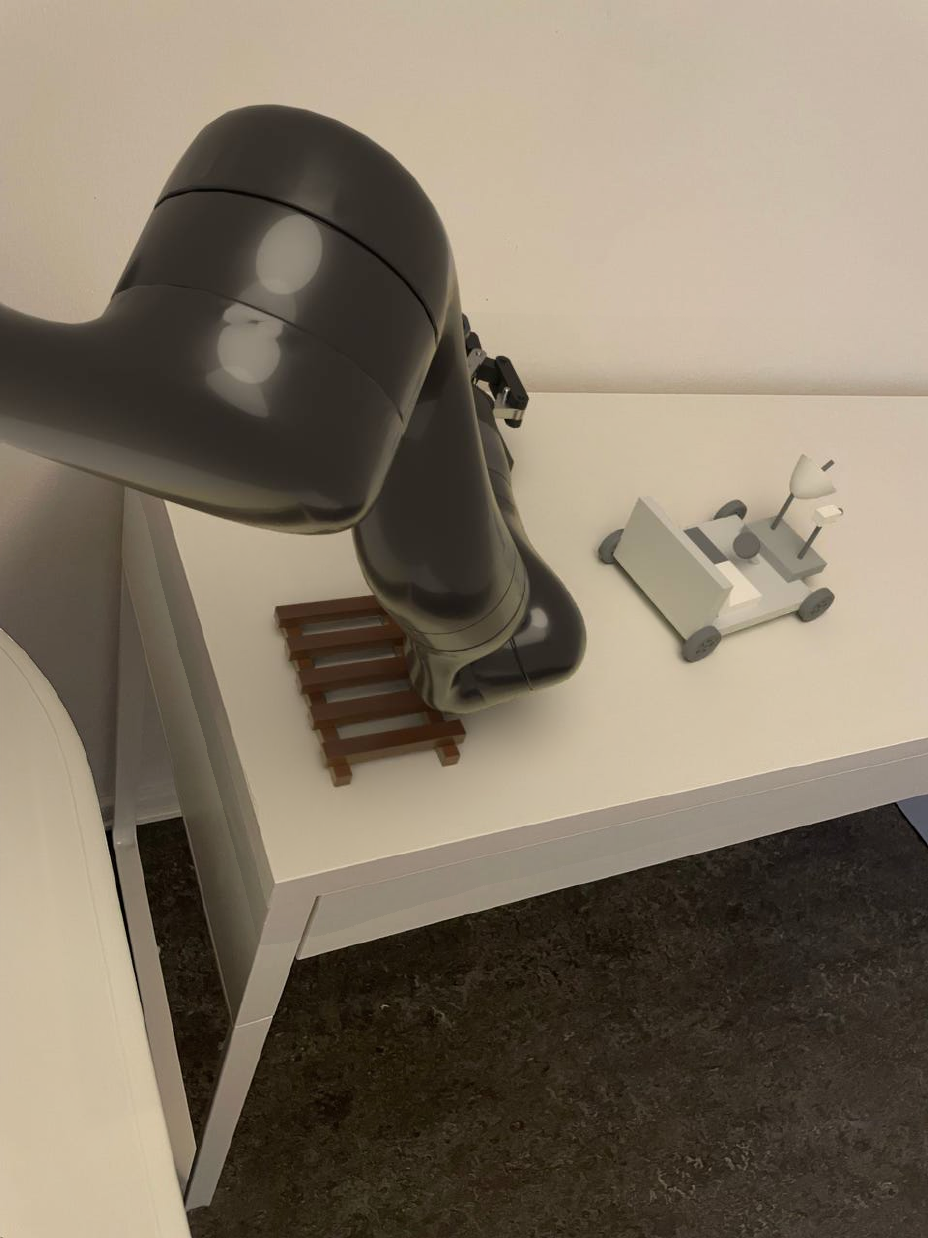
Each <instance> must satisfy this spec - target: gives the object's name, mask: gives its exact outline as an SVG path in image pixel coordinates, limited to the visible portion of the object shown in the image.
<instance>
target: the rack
mask: <svg viewBox="0 0 928 1238" xmlns="http://www.w3.org/2000/svg"><path fill="white" fill-rule="evenodd" d="M273 617H274V620H275V623H276V626H277V628H278V629H279V630H281V632H282V636H283V639H284V647H283V648H284V651H285V654H286V656H287V659H288V662H292V666H293V668H294V672H295V674H296V677H295V683H296V686H297V690H298V692H299V695H300V696H302V695H303V697H304V701H305V704H306V706H307V710H308V711H307V719H308V722H309V724H310V727H311V730H312V731H315V733H316V736H317V739H318V742H319V745H320V748H319V754H320V758H321V761H322V764H323V767H324V768H325V769H328V771H329V774H330V775H329V776H330V778H331V781H332V783H333V787H335V788H337V787H342V786H348V785H351V783H352V779H353V773H352V770H351V768H350V767H351V766H350V764H355V763H360V762H367V761H372V760H377V759H384V758H388V757H394V756H399V755H405V754H410V753H415V752H421V751H426V750H431V749H435V752H436V755H437V757H438V759H439V761H440V763H441V766H442V767H448V766H453V765H457V764H458V762H459V760H460V757H461V752H460V751H459V749H458V746H457V745H459V744H464V742H465V740H466V736H467V732H466V729H465V727H464V725H463V722H462V720H461V719H460V718H457V719H451V720H446V718H445V716H444V713H441V712H439V711H436V710H434V709H432V708H431V707H430V706H428V705H427V704H426V703H425V702H424V701H423V700H422V698H421V697H420V696H419V694H418V693H417V691H416V689H415V687H414V685H413V683H412V680H411V678H410V675H409V672H408V668H407V664H406V658H405V653H404V644H403V630H402V629H401V628H400V627H399V625H398V624H397V623H396V622H395V621H394V620H393V619H392V617H391V616H390V615H389V614H388V613H387V612H386V611H385V610H384V608H383V607H382V606H381V605H380V604H379V602H378V601H377V599H376V598H375V596H374V595H373V594H368V595H360V596H353V597H343V598H334V599H326V600H317V601H309V602H300V603H291V604H282V605H275V606H274V614H273ZM375 617H379V618H380V620H381V623H382V625H381V624H379V625H373V626H366V627H365V626H363V627H357V628H349V629H342V630H333V631H326V632H318V633H309V634H303V631H302V628H301V627H303V626H311V625H319V624H327V623H328V624H329V623H334V622H335V623H336V622H343V621H350V620H351V621H352V620H359V619H360V620H361V619H367V618H375ZM386 648H387V649H388V648H392V649H393V652H394V654H395V656H393V657H385V658H379V659H378V658H377V659H371V660H364V661H357V662H351V663H343V664H336V665H329V666H323V667H315V665H314V662H313V660H312V659H315V658H323V657H329V656H337V655H343V654H344V655H345V654H350V653H351V654H352V653H359V652H365V651H373V650H379V649H380V650H381V649H386ZM402 680H406V682H407V685H408V687H409V690H403V691H395V692H388V693H383V694H377V695H371V696H364V697H357V698H352V699H345V700H339V701H333V702H327V700H326V695H325V693H324V692H328V691H336V690H341V689H349V688H355V687H362V686H368V685H375V684H380V683H388V682H394V681H402ZM419 713H420V716H421V718H422V720H423V723H424V724H423V725H416V726H411V727H405V728H399V729H393V730H387V731H382V732H376V733H375V732H374V733H370V734H365V735H364V734H363V735H359V736H358V735H357V736H351V737H346V738H342V739H341V738H340V736H339V732H338V730H337V728H336V727H341V726H342V727H343V726H347V725H353V724H360V723H366V722H371V721H377V720H383V719H389V718H395V717H401V716H402V717H403V716H408V715H413V714H419Z"/></svg>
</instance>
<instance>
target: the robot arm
mask: <svg viewBox="0 0 928 1238" xmlns="http://www.w3.org/2000/svg"><path fill="white" fill-rule="evenodd" d="M141 231H142V232H141V233H140V235H139V238H138V240H137V242H136V243H135V246H134V248H133V251H132V252H131V254H130V257H129V259H128V261H127V262H126V264H125V267H124V268H123V271H122V273H121V275H120V277H119V280H118V281H117V284H116V286H115V287H114V289H113V292H112V294H111V297H110V300H109V302H108V304H107V305H106V307H105V309H104V310H103V313H102V314H101V315H100V316H98V317H97V318H94V319H92V320H88V321H84V322H74V323H70V322H63V321H56V320H49V319H46V318H41V317H39V316H35V315H33V314H32V315H31V314H29V313H24V312H23V311H20V310H18V309H15V308H13V307H10V306H8V305H6V304H4V302H2V301H0V444H3V445H6V446H9V447H12V448H15V449H18V450H20V451H23V452H26V453H29V454H32V455H35V456H37V457H41V458H43V459H46V460H49V461H51V462H55V463H58V464H61V465H64V466H66V467H70V468H72V469H75V470H77V471H81V472H83V473H86V474H89V475H92V476H94V477H97V478H101V479H103V480H106V481H109V482H112V483H115V484H118V485H120V486H123V487H126V488H129V489H131V490H135V491H138V492H140V493H143V494H147V495H149V496H153V497H155V498H157V499H160V500H164V501H165V502H170V503H172V504H176V505H179V506H181V507H185V508H188V509H191V510H194V511H197V512H200V513H204V514H207V515H208V516H213V517H216V518H218V519H221V520H226V521H230V522H232V523H236V524H240V525H244V526H247V527H252V528H257V529H261V530H266V531H271V532H277V533H280V534H289V535H290V534H291V535H297V536H298V535H300V536H308V537H309V536H327V535H329V536H330V535H334V534H339V533H342V532H345V531H347V530H350V532H351V538H352V544H353V548H354V552H355V556H356V559H357V563H358V565H359V568H360V571H361V574H362V576H363V578H364V581H365V583H366V585H367V587H368V588H369V590H370V592H371V593H372V595H374V596H375V598H376V599H377V601H378V602H379V604H380V605H381V606H382V607H383V608H384V610H385V611H386V612H387V613H388V614H389V615H390V616H391V617H392V619H393V620H394V621H395V622H396V623H397V624H398V625H399V627H400V628H401V629H402V630H403V644H404V653H405V658H406V664H407V668H408V672H409V675H410V678H411V680H412V683H413V685H414V687H415V689H416V691H417V693H418V694H419V696H420V697H421V698H422V700H423V701H424V702H425V703H426V704H427V705H428V706H430V707H431V708H432V709H434V710H436V711H439V712H441V713H442V714H445V715H453V716H454V715H455V716H456V715H466V714H471V713H475V712H477V711H481V710H484V709H487V708H490V707H493V706H496V705H500V704H502V703H505V702H508V701H512V700H514V699H518V698H520V697H523V696H524V697H525V696H526V695H531V694H533V692H535V693H537V692H539V691H542V690H543V691H544V690H545V689H549V688H553V687H555V686H557V685H561V684H562V683H565V682H566V681H568V680H570V679H571V678H572V677H573V676H574V675H576V673H577V671H579V669H580V667H581V666H582V664H583V662H584V658H585V655H586V652H587V646H588V645H587V643H588V635H587V627H586V623H585V620H584V617H583V615H582V612H581V610H580V608H579V605H578V604H577V601H576V600H575V598H574V597H573V595H572V594H571V592H570V591H569V590H568V588H567V586H566V585H565V584H564V583H563V581H562V580H561V579H560V578H559V576H558V575H557V574H556V572H555V571H554V570H553V569H552V567H550V565H548V563H547V562H546V561H545V560H544V558H543V557H542V556H541V555H540V554H539V552H538V551H537V549H536V548H535V547H534V544H532V542H531V540H530V539H529V537H528V535H527V532H526V530H525V528H524V525H523V522H522V518H521V516H520V515H521V514H520V513H519V509H518V505H517V502H516V498H515V496H514V492H513V486H512V473H511V474H510V469H509V465H508V461H507V458H506V455H505V451H504V448H503V445H502V441H501V438H500V434H499V431H500V430H499V431H498V429H499V427H498V424H497V421H496V419H498V420H499V419H502V420H504V423H505V425H507V426H508V427H509V428H511V429H519V428H521V426H522V423H523V420H524V416H525V413H526V410H527V408H528V404H529V400H530V396H529V395H528V393H527V391H526V389H525V387H524V385H523V383H522V381H521V378H520V377H519V375H518V373H517V371H516V368H515V367H514V365H513V363H512V361H511V359H510V358H509V357H507V356H505V355H496V356H495V358H492V357H489V356H488V354H487V352H486V351H485V350H483V347H482V344H481V341H480V337H479V335H478V334H477V333H476V332H475V331H472V329H471V330H470V334H469V338H468V342H467V346H466V349H465V340H464V331H463V321H462V313H463V312H462V303H461V294H460V293H461V292H460V285H459V279H458V271H457V267H456V262H455V257H454V252H453V248H452V245H451V241H450V238H449V235H448V232H447V230H446V227H445V224H444V222H443V220H442V218H441V216H440V214H439V212H438V210H437V208H436V206H435V205H434V203H433V201H432V200H431V198H430V197H429V196H428V194H427V193H426V191H425V190H424V188H423V186H422V185H421V184H420V183H419V181H418V179H416V177H415V176H414V175H413V174H412V173H411V172H410V170H408V169H407V168H406V166H405V165H403V164H402V163H401V162H400V161H399V160H398V159H397V158H396V157H395V155H393V154H392V153H391V152H390V151H388V150H387V149H386V148H384V147H383V146H381V144H379V143H378V142H377V141H375V140H374V139H372V138H371V137H370V136H368V135H366V134H365V133H362V132H361V131H359V130H357V129H355V128H354V127H352V126H350V125H347V124H346V123H344V122H342V121H340V120H338V119H336V118H332V117H330V116H327V115H324V114H321V113H318V112H315V111H313V110H309V109H307V108H300V107H294V106H289V105H284V104H273V103H272V104H271V103H270V104H269V103H266V104H265V103H264V104H252V105H247V106H242V107H239V108H235V109H232V110H228V111H226V112H225V113H223V114H222V115H220V116H218V117H217V118H215V119H214V120H212V121H211V122H209V123H208V124H206V125H205V126H204V127H202V129H201V130H200V131H199V132H198V134H197V135H196V136H195V137H194V139H193V140H192V141H191V142H190V144H189V146H188V147H187V148H186V149H185V151H184V152H183V154H182V155H181V157H180V158H179V160H178V161H177V162H176V164H175V166H174V168H173V169H172V171H171V173H170V174H169V176H168V177H167V180H166V181H165V183H164V185H163V188H162V189H161V191H160V193H159V195H158V197H157V199H156V202H155V204H154V207H153V209H152V211H151V212H150V215H149V216H148V219H147V221H146V223H145V225H144V227H143V230H141ZM481 381H482V382H485V383H488V384H487V386H488V389H489V390H490V393H491V395H492V396H493V397H492V396H491V395H490V394H488V393H487V392H486V391H484V389H482V388H481V387H479V384H480V382H481ZM477 385H478V386H477ZM497 427H498V428H497Z"/></svg>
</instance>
